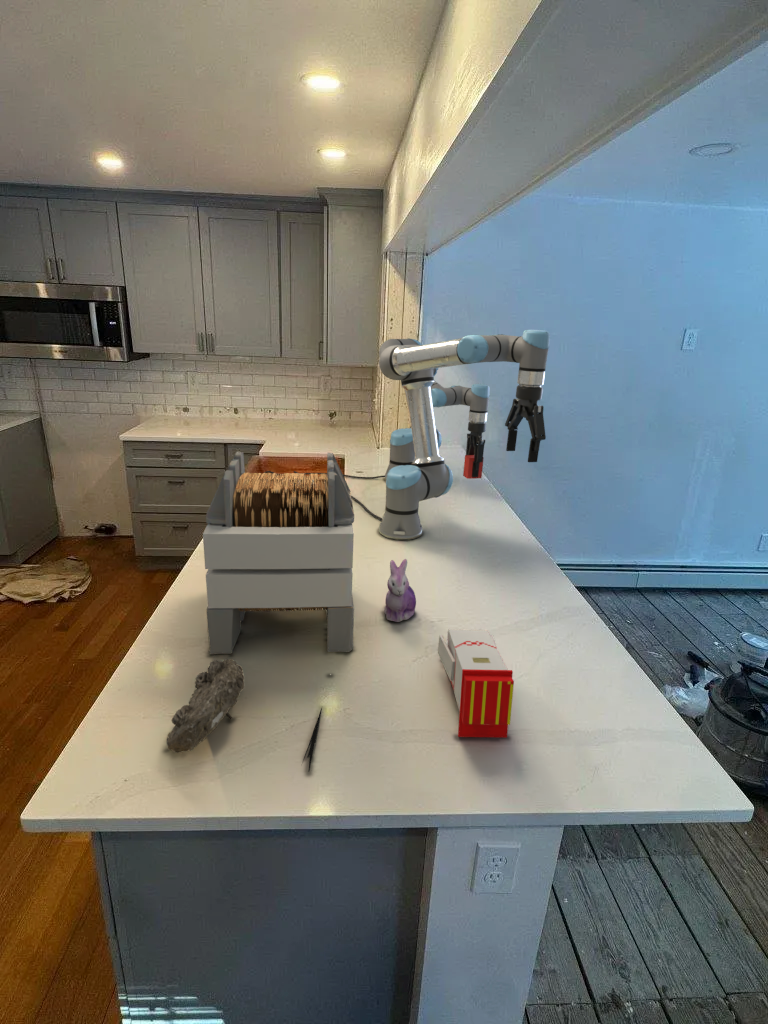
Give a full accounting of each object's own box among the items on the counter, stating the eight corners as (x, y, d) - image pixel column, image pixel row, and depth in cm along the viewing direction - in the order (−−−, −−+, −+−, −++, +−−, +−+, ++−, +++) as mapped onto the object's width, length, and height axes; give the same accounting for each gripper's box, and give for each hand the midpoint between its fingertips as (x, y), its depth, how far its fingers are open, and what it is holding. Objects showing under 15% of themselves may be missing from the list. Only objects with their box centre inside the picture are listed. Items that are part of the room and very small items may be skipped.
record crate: (229, 585, 158) (221, 442, 144) (346, 584, 161) (350, 444, 148) (206, 656, 126) (193, 481, 112) (353, 652, 130) (358, 483, 116)
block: (481, 478, 246) (483, 457, 243) (467, 478, 244) (469, 457, 241) (477, 475, 250) (479, 454, 247) (463, 475, 248) (465, 455, 245)
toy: (488, 613, 130) (523, 677, 101) (484, 667, 133) (517, 744, 104) (435, 612, 130) (455, 676, 101) (432, 666, 133) (451, 743, 103)
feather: (331, 679, 122) (336, 673, 122) (307, 777, 96) (313, 769, 95) (324, 675, 122) (329, 669, 121) (298, 772, 95) (304, 764, 95)
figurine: (392, 627, 141) (395, 572, 136) (374, 608, 149) (376, 556, 144) (425, 619, 145) (429, 566, 140) (405, 601, 154) (408, 550, 149)
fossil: (192, 660, 117) (244, 628, 112) (224, 691, 120) (276, 661, 115) (142, 746, 98) (202, 712, 93) (182, 779, 101) (242, 748, 96)
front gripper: (565, 391, 155) (553, 466, 163) (520, 380, 178) (512, 446, 185) (540, 391, 153) (530, 467, 161) (499, 379, 176) (491, 446, 183)
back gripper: (494, 425, 232) (489, 480, 240) (476, 417, 248) (471, 469, 256) (478, 426, 230) (472, 481, 238) (460, 418, 246) (456, 470, 254)
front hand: (521, 456), depth 173 cm, fingers open, 13 cm apart
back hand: (472, 475), depth 247 cm, fingers closed on block, 5 cm apart
